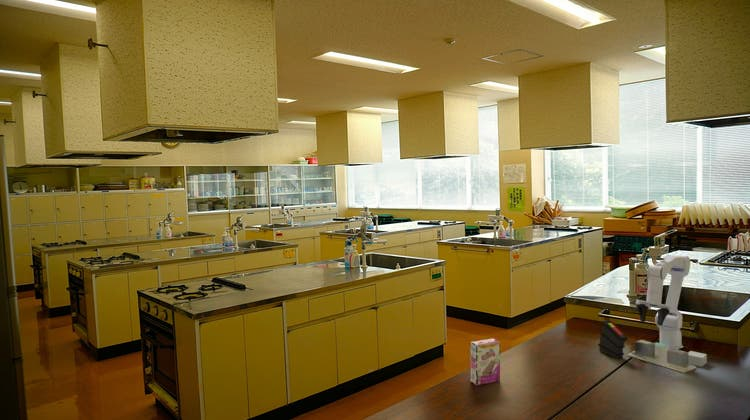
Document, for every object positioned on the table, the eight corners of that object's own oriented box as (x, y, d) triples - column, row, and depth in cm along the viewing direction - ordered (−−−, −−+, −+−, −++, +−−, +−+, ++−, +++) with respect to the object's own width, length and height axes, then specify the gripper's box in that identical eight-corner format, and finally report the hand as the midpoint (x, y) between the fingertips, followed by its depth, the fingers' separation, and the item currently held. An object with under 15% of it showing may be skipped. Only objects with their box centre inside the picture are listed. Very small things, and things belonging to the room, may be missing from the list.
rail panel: (639, 351, 221) (639, 337, 220) (696, 368, 200) (696, 352, 200) (627, 355, 216) (627, 340, 216) (684, 373, 195) (684, 356, 195)
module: (656, 353, 218) (656, 342, 218) (668, 356, 214) (668, 345, 213) (651, 355, 216) (651, 343, 216) (663, 358, 212) (663, 346, 211)
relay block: (690, 359, 210) (690, 350, 210) (706, 363, 205) (706, 354, 205) (685, 363, 206) (685, 354, 206) (702, 367, 201) (702, 357, 201)
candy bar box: (477, 386, 188) (476, 345, 188) (470, 382, 193) (469, 341, 192) (501, 381, 192) (500, 341, 192) (493, 377, 197) (493, 337, 196)
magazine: (599, 344, 227) (610, 319, 220) (619, 365, 216) (631, 339, 209) (593, 345, 226) (603, 320, 219) (613, 366, 215) (625, 340, 208)
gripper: (643, 290, 209) (640, 321, 207) (676, 296, 209) (673, 327, 207) (634, 289, 216) (631, 319, 214) (666, 295, 216) (663, 325, 214)
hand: (651, 323), depth 211 cm, fingers open, 7 cm apart
